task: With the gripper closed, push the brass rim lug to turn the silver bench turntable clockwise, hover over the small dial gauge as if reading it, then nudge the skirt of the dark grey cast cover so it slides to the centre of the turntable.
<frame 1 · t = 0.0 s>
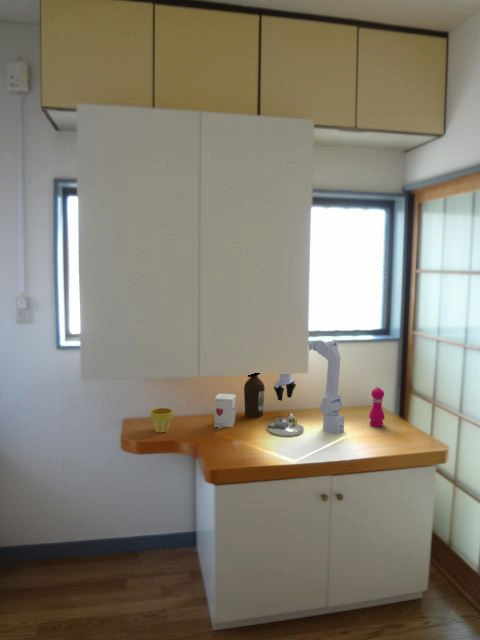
hand: (284, 398, 238), 10 cm above the worktop, fingers open, 7 cm apart
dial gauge: (291, 422, 232), on the worktop
supplement box: (224, 426, 227), on the worktop
pepper mill: (376, 425, 230), on the worktop
plant pot: (161, 431, 220), on the worktop
cover: (281, 426, 220), point 2 cm above the worktop, touching turntable
olive oil: (254, 417, 241), on the worktop
turntable: (285, 425, 219), point 3 cm above the worktop, hinge at 0.0°, touching cover
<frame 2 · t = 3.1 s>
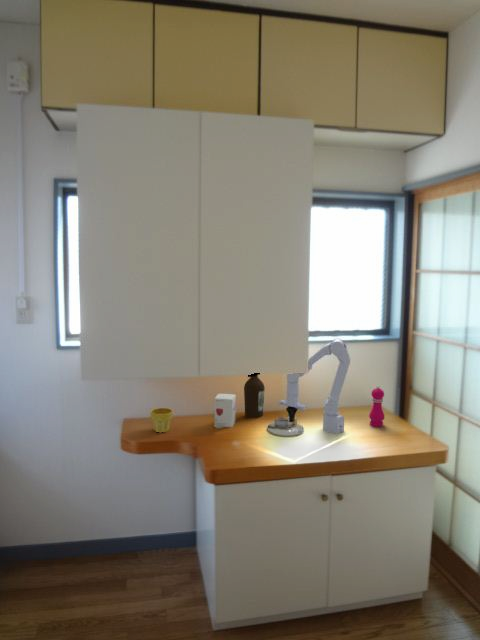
hand: (291, 421, 224), 3 cm above the worktop, fingers closed, pressing on turntable
turntable: (285, 425, 219), point 3 cm above the worktop, hinge at -0.4°, touching cover, gripper
everything else where it was.
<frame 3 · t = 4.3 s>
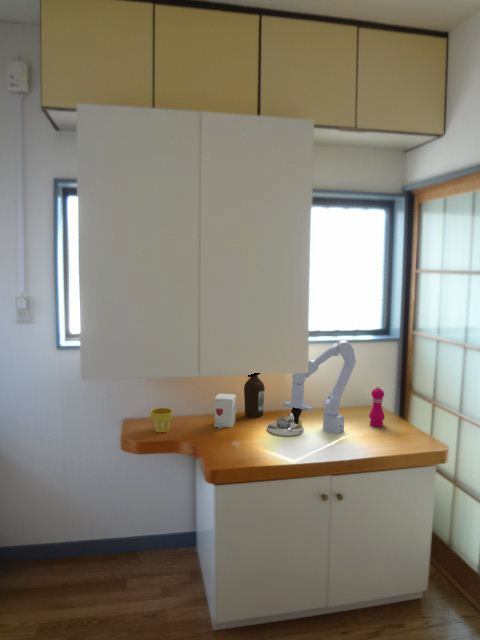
hand: (296, 423, 221), 3 cm above the worktop, fingers closed, pressing on turntable
cover: (283, 425, 221), point 2 cm above the worktop, touching turntable
turntable: (285, 425, 219), point 3 cm above the worktop, hinge at -31.6°, touching cover, gripper
everything else where it was.
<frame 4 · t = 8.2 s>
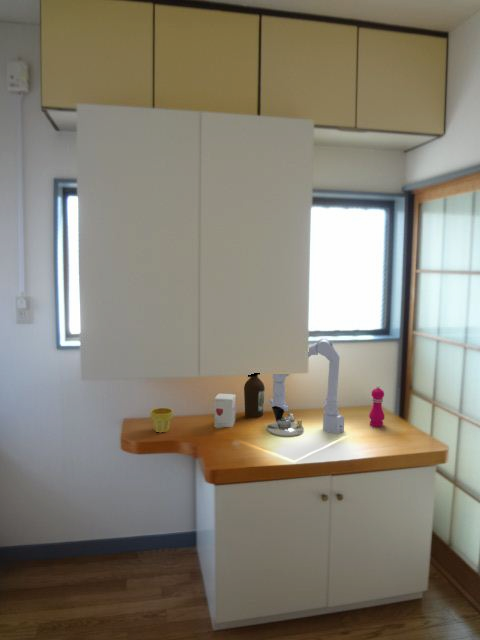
hand: (278, 421, 224), 3 cm above the worktop, fingers closed
cover: (284, 425, 221), point 2 cm above the worktop, touching gripper
turntable: (285, 425, 219), point 3 cm above the worktop, hinge at -32.7°
everything else where it was.
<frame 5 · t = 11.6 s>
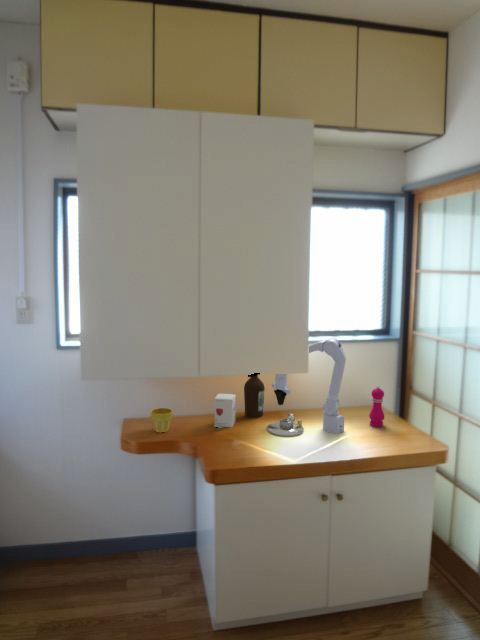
hand: (280, 404, 227), 10 cm above the worktop, fingers closed
cover: (286, 427, 219), point 2 cm above the worktop, touching turntable
turntable: (285, 425, 219), point 3 cm above the worktop, hinge at -32.7°, touching cover
everything else where it was.
at the end: turntable at -33° (first picture: +0°); cover 0.5 cm from the turntable (horizontally); cover tilted 2° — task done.
